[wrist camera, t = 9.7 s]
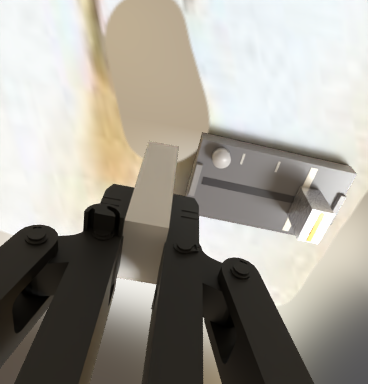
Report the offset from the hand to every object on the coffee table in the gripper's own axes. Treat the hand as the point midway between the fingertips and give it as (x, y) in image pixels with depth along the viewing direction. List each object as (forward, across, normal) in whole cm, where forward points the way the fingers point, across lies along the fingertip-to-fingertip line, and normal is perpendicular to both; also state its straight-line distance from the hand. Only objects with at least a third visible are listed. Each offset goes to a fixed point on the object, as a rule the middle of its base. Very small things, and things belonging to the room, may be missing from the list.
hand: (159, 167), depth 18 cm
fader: (+27, +21, -16) cm, 38 cm away
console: (+30, +15, -16) cm, 37 cm away
